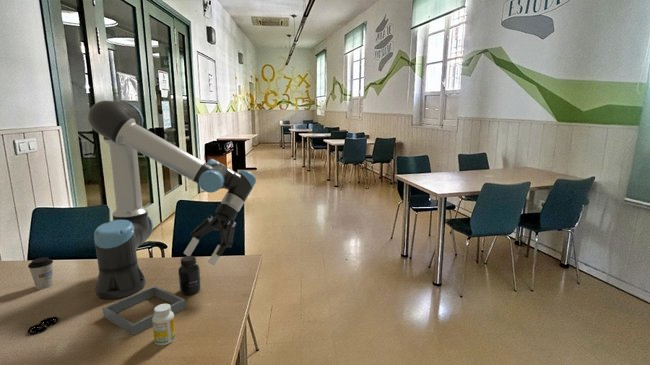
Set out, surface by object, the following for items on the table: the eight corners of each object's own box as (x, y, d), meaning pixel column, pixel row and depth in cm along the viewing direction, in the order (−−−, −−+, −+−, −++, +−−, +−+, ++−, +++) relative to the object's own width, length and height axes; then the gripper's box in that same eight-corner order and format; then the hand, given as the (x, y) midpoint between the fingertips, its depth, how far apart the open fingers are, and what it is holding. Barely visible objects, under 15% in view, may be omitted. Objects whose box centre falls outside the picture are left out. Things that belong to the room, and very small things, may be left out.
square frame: (103, 317, 105) (102, 308, 105) (155, 293, 119) (154, 285, 118) (133, 335, 96) (132, 325, 96) (185, 308, 110) (185, 299, 109)
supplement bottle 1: (160, 348, 91) (156, 315, 89) (150, 340, 94) (147, 308, 92) (179, 338, 95) (176, 306, 93) (170, 331, 98) (167, 300, 97)
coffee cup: (27, 288, 122) (22, 262, 121) (49, 280, 129) (44, 254, 127) (39, 292, 120) (34, 265, 118) (61, 283, 126) (57, 257, 124)
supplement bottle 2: (194, 296, 117) (191, 263, 114) (175, 294, 118) (172, 261, 116) (204, 287, 123) (202, 255, 121) (187, 285, 125) (184, 253, 122)
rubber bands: (63, 320, 104) (63, 317, 104) (37, 336, 96) (36, 333, 96) (49, 318, 105) (49, 315, 105) (22, 334, 97) (22, 331, 97)
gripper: (258, 218, 126) (229, 272, 117) (213, 208, 140) (183, 255, 131) (247, 207, 121) (215, 263, 112) (201, 198, 135) (169, 247, 125)
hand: (198, 259), depth 121 cm, fingers open, 13 cm apart
